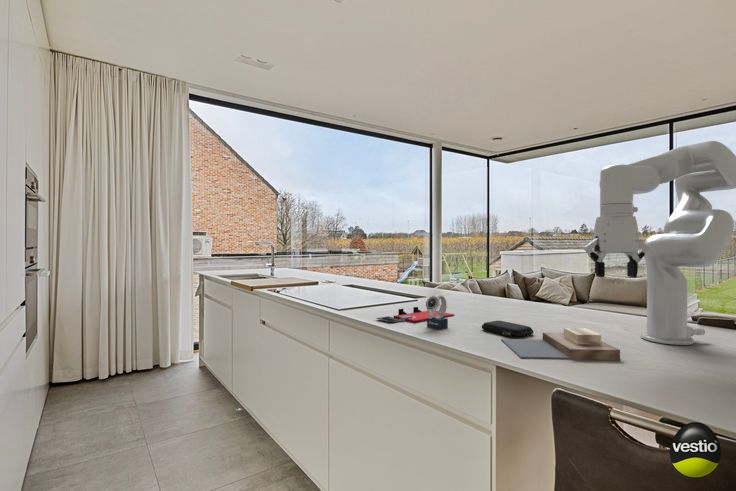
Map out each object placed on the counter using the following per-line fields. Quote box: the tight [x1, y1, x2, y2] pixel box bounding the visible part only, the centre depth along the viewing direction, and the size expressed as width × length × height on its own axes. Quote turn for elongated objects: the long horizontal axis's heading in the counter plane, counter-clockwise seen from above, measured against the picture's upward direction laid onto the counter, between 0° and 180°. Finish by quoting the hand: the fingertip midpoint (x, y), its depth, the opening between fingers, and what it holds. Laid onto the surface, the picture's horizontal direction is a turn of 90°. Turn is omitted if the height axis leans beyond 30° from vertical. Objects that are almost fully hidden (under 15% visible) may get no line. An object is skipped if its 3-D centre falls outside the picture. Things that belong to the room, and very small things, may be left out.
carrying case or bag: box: [481, 320, 534, 339], centre depth 126 cm, size 11×3×15 cm
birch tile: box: [563, 327, 602, 345], centre depth 106 cm, size 6×8×2 cm
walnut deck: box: [542, 332, 621, 361], centre depth 106 cm, size 12×18×2 cm, turn 176°
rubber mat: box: [500, 338, 571, 360], centre depth 107 cm, size 12×18×1 cm, turn 176°
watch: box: [425, 294, 449, 330], centre depth 134 cm, size 6×8×11 cm
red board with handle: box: [375, 306, 455, 324], centre depth 151 cm, size 30×3×15 cm
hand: (616, 276), depth 105 cm, fingers open, 7 cm apart
